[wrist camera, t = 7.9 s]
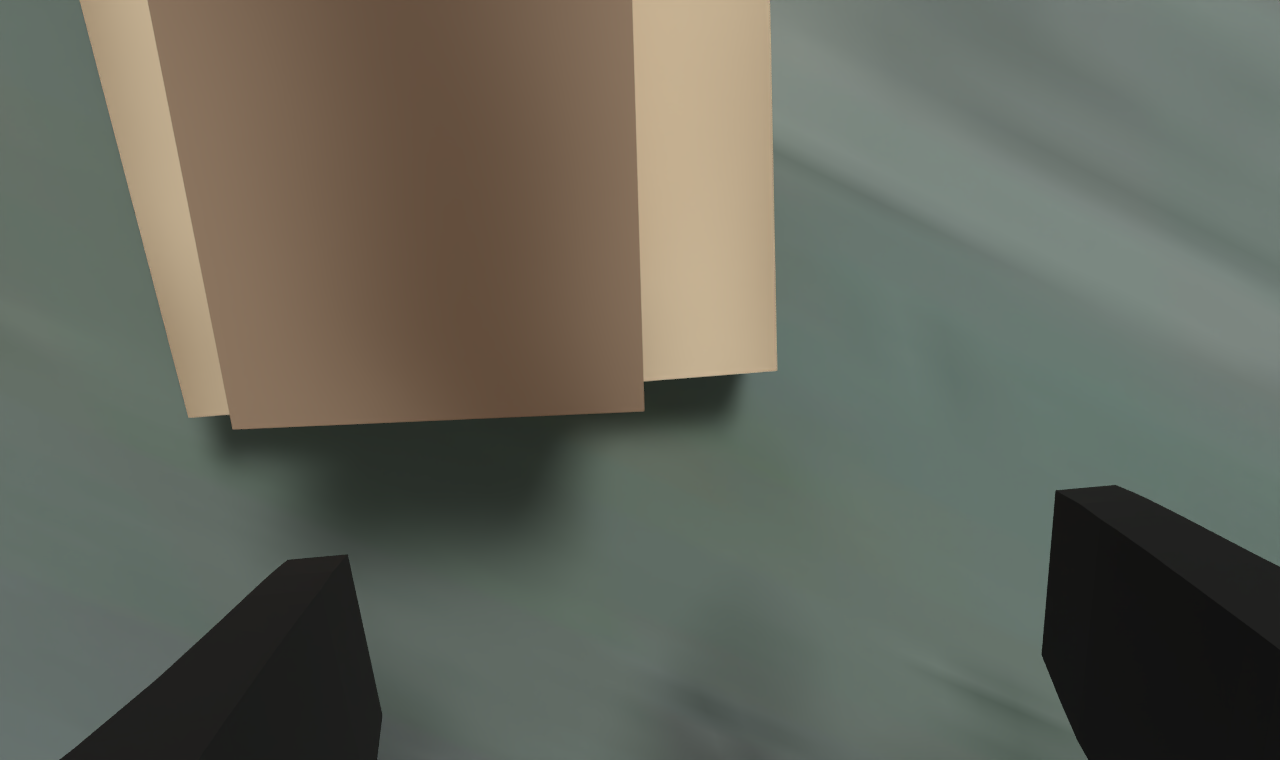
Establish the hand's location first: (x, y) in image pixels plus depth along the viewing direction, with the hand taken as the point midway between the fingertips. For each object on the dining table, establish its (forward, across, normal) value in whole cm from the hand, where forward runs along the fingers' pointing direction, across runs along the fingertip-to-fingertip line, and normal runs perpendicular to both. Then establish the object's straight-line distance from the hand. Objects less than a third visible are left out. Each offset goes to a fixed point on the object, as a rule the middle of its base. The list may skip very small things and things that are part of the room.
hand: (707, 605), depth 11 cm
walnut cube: (+8, +3, -4) cm, 9 cm away
